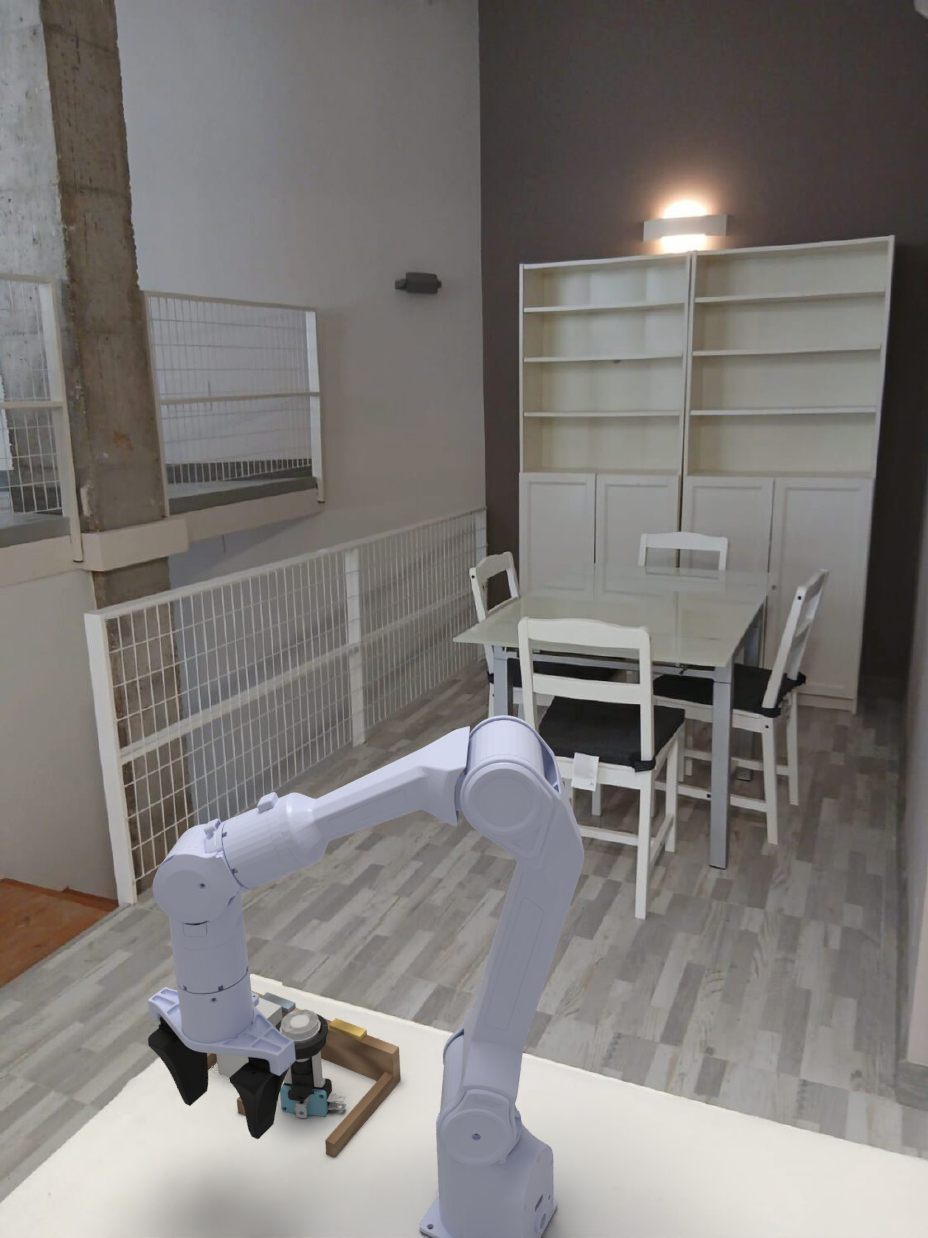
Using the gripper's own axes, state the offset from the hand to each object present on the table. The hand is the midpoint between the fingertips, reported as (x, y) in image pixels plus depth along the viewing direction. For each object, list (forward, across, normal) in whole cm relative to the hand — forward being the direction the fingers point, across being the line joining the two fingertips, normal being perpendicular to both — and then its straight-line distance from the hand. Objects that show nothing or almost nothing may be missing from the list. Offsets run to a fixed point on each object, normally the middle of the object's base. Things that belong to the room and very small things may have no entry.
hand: (228, 1113), depth 78 cm
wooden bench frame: (+10, +6, -14) cm, 18 cm away
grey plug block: (+10, +12, -14) cm, 21 cm away
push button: (+11, +2, -12) cm, 17 cm away
